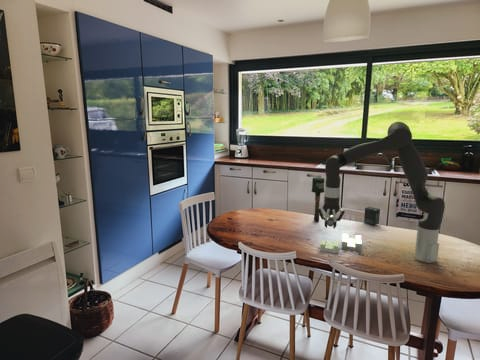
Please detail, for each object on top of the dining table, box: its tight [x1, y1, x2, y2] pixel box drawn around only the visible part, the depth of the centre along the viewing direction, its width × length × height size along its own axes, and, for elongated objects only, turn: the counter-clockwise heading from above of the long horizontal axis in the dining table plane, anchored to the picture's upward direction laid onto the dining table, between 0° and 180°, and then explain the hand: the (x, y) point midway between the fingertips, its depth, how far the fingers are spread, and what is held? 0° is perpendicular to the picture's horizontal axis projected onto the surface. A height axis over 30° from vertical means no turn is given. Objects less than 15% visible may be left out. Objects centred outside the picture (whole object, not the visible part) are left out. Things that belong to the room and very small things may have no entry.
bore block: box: [341, 233, 363, 252], centre depth 179 cm, size 12×10×4 cm
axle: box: [327, 215, 334, 228], centre depth 172 cm, size 18×3×3 cm, turn 161°
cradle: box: [319, 238, 340, 254], centre depth 175 cm, size 8×9×4 cm
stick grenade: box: [310, 176, 326, 223], centre depth 216 cm, size 8×9×30 cm
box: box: [363, 206, 381, 226], centre depth 214 cm, size 8×6×11 cm
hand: (330, 227), depth 166 cm, fingers closed on axle, 3 cm apart
